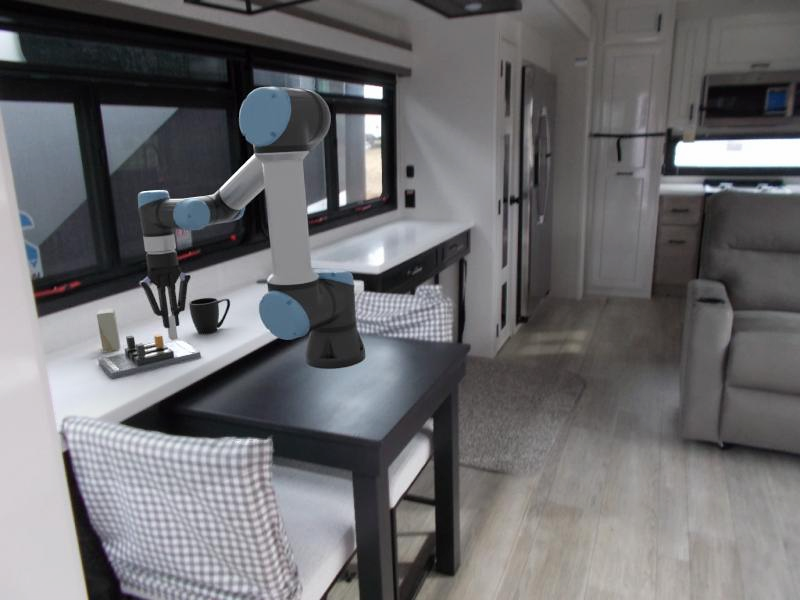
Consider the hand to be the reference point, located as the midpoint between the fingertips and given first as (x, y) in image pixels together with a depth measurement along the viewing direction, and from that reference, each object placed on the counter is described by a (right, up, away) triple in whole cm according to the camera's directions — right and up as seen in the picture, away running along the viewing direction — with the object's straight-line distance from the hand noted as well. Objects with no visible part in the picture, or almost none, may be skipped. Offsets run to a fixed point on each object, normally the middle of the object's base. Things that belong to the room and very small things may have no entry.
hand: (173, 338), depth 165 cm
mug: (+4, +1, +22) cm, 23 cm away
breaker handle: (-3, -2, -2) cm, 4 cm away
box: (-21, -4, +9) cm, 23 cm away
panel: (-5, -6, -3) cm, 8 cm away
